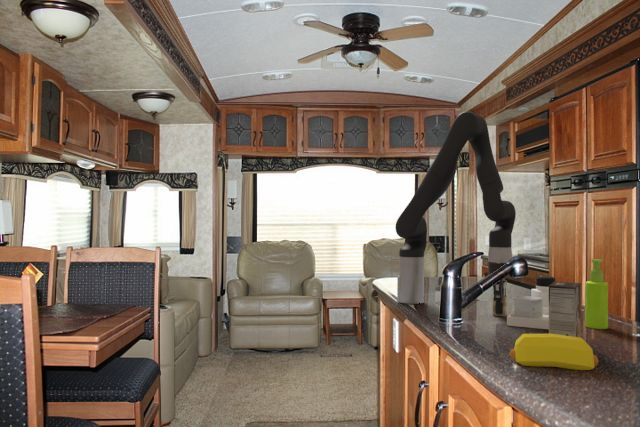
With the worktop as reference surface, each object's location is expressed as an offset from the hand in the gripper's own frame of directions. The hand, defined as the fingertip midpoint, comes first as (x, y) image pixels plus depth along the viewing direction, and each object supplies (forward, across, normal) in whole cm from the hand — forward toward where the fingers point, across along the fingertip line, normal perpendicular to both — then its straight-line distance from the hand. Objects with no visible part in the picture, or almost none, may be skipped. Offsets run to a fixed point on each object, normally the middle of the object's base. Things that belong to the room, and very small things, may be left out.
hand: (499, 312), depth 168 cm
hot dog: (+1, +54, +18) cm, 57 cm away
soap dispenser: (+1, +5, +28) cm, 28 cm away
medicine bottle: (+1, -15, +13) cm, 20 cm away
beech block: (+1, 0, 0) cm, 1 cm away
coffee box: (+1, +38, +20) cm, 43 cm away
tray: (+1, +5, +10) cm, 11 cm away
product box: (0, +11, +10) cm, 14 cm away
